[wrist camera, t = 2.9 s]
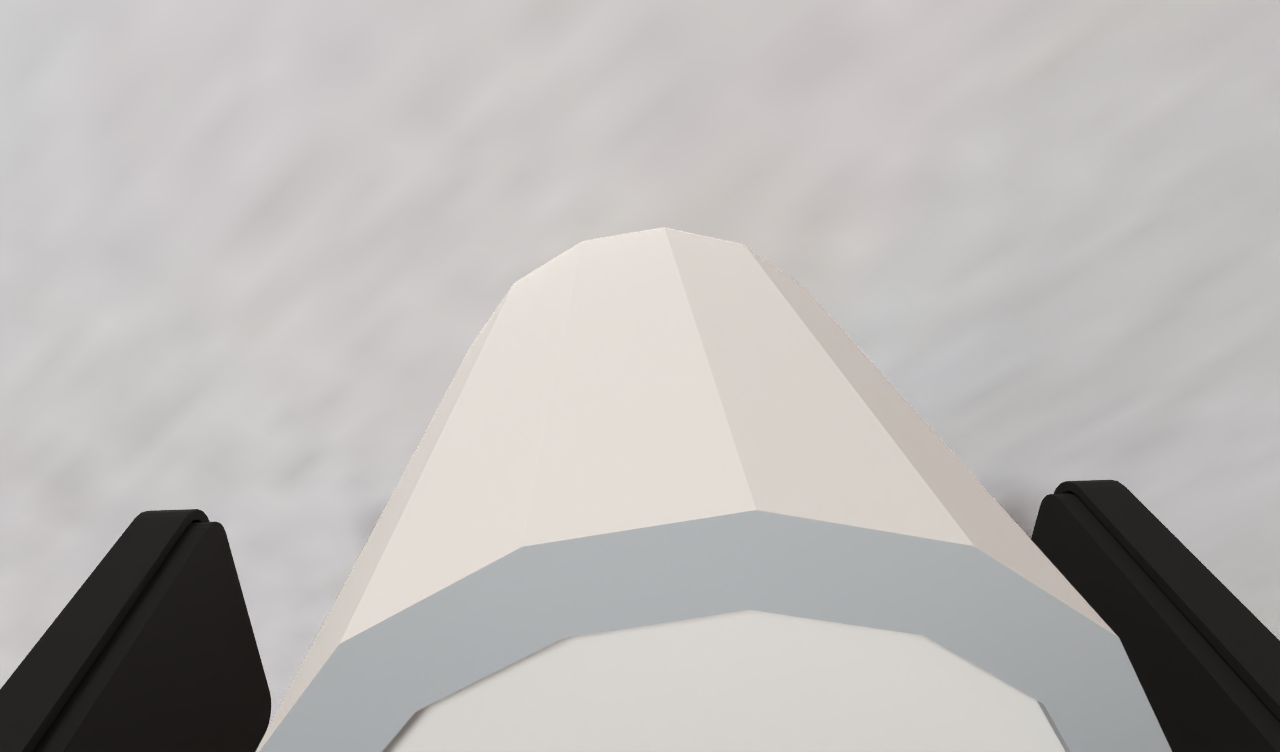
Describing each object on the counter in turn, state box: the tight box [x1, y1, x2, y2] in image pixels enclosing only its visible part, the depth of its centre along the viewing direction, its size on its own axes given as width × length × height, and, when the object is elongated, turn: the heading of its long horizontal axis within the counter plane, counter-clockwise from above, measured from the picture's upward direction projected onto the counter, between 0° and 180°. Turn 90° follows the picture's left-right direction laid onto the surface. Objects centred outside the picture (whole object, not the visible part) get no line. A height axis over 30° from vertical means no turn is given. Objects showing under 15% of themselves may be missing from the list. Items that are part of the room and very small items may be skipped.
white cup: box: [256, 227, 1172, 752], centre depth 9 cm, size 7×7×7 cm
